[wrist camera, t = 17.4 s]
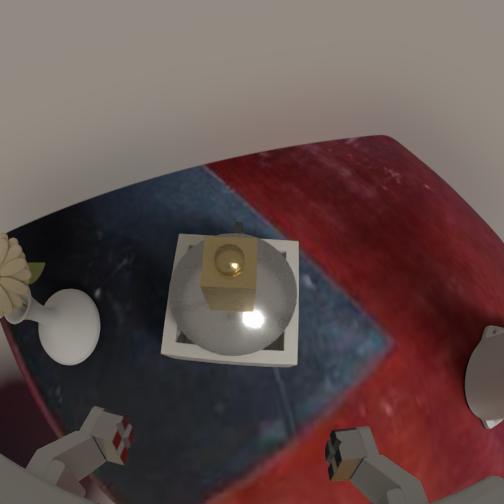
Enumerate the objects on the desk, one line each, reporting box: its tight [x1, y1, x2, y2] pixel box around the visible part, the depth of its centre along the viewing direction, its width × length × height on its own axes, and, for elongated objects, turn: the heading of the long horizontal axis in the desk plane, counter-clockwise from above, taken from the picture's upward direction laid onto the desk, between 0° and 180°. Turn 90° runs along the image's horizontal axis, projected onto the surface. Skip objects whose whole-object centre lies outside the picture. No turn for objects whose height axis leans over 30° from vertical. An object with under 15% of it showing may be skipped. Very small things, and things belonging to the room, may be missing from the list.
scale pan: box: [169, 222, 297, 356], centre depth 34 cm, size 14×16×6 cm
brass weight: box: [200, 236, 258, 312], centre depth 27 cm, size 4×4×9 cm
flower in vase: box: [0, 233, 100, 365], centre depth 25 cm, size 13×11×25 cm
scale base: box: [161, 234, 299, 367], centre depth 36 cm, size 15×15×6 cm
